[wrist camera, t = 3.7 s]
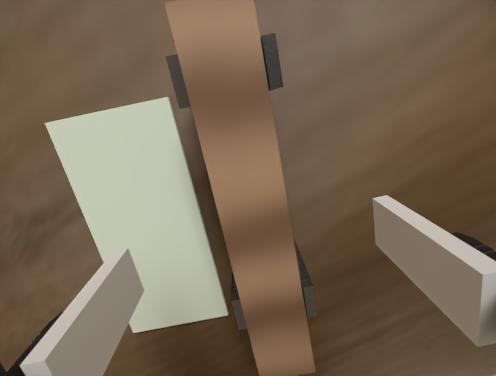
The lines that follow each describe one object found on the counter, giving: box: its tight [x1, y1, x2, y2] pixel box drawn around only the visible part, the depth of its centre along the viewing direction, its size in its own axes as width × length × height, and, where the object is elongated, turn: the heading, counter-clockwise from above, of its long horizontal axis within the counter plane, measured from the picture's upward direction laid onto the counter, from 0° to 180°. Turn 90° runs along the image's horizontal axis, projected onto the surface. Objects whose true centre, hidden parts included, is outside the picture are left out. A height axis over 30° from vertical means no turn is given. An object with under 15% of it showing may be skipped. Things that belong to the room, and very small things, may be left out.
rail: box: [165, 0, 316, 376], centre depth 19 cm, size 24×4×6 cm, turn 11°
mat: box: [45, 97, 228, 333], centre depth 32 cm, size 28×13×1 cm, turn 11°
